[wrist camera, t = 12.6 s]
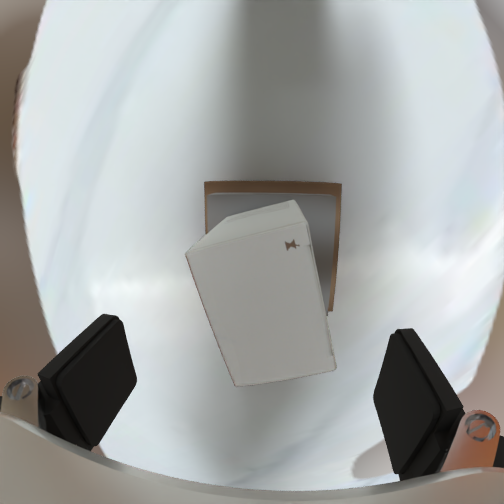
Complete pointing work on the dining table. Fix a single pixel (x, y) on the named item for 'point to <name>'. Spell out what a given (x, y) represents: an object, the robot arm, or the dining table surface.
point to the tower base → (286, 188)
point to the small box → (264, 295)
